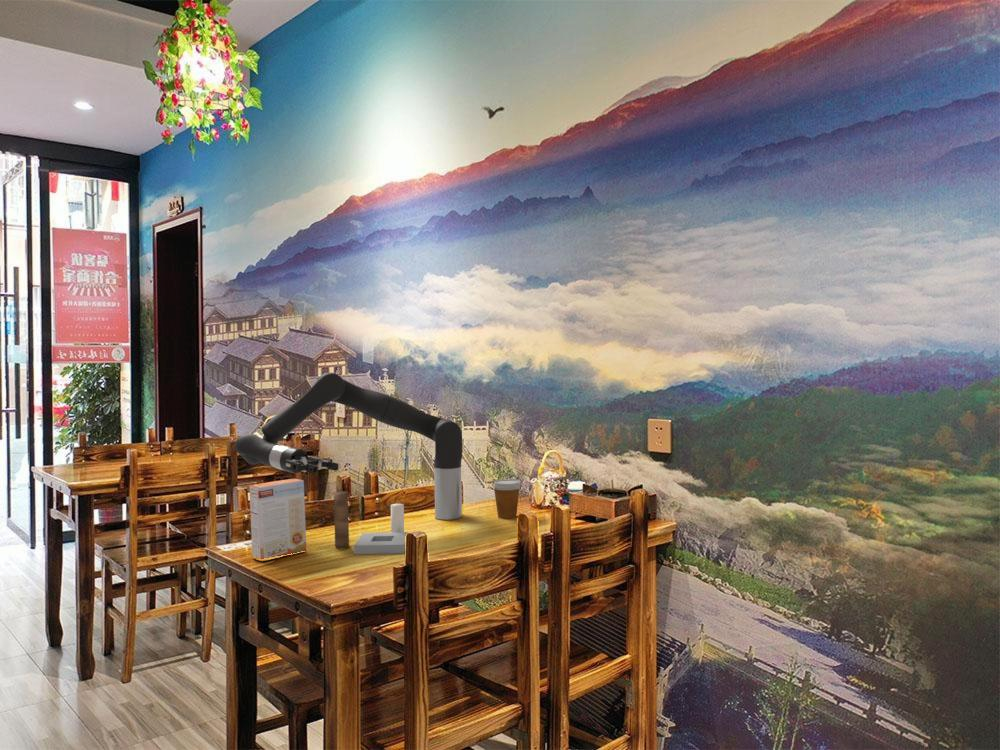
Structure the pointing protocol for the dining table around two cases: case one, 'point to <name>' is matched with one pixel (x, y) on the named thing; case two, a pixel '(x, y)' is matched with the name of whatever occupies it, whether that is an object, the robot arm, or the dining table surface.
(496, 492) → the disposable coffee cup
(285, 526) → the cracker box
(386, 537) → the board
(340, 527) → the walnut dowel
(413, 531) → the dining table surface
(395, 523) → the cream rod
